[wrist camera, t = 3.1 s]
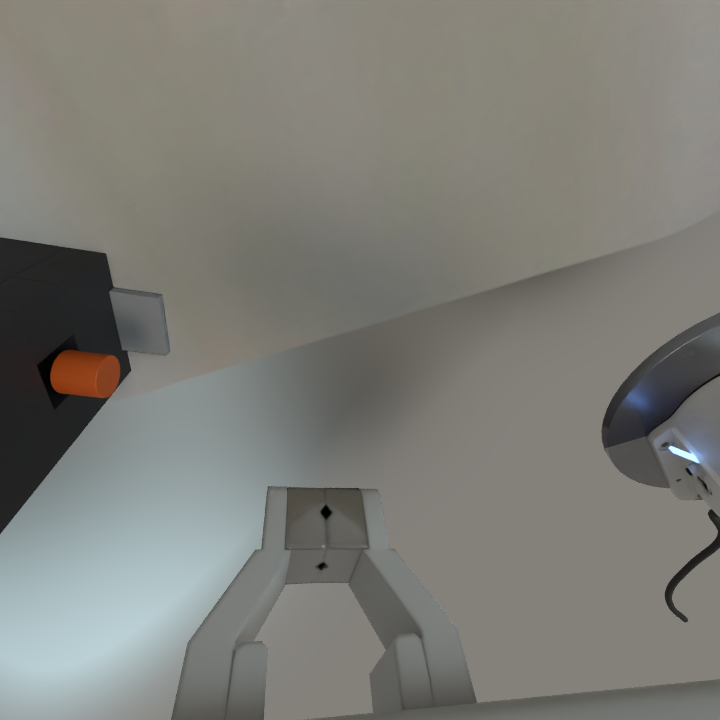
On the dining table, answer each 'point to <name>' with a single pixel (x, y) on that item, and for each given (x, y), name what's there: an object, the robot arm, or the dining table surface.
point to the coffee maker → (46, 341)
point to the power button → (85, 374)
